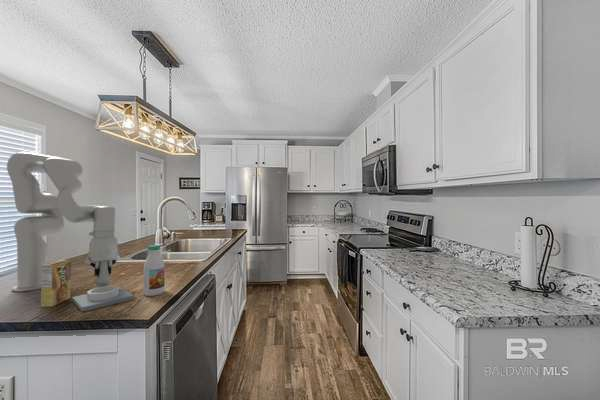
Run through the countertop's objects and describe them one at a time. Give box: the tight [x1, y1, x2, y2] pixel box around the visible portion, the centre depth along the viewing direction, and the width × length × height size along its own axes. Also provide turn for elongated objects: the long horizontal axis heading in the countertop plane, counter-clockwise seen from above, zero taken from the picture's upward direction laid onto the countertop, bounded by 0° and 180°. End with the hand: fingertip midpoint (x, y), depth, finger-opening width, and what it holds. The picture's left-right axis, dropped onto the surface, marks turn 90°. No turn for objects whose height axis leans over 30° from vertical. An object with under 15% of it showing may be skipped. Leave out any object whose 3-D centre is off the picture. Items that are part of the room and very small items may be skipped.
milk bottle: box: [143, 244, 166, 297], centre depth 112 cm, size 8×8×20 cm
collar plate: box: [71, 285, 134, 313], centre depth 105 cm, size 16×16×4 cm
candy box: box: [40, 259, 72, 308], centre depth 102 cm, size 9×4×15 cm, turn 6°
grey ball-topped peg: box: [94, 260, 112, 288], centre depth 117 cm, size 6×6×13 cm
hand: (102, 276), depth 117 cm, fingers closed on grey ball-topped peg, 3 cm apart
